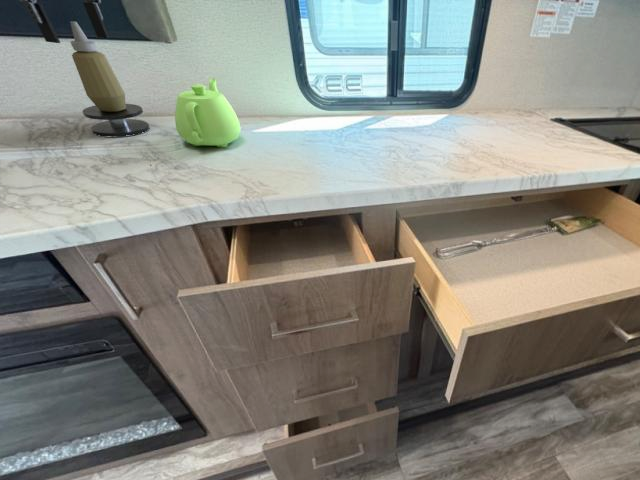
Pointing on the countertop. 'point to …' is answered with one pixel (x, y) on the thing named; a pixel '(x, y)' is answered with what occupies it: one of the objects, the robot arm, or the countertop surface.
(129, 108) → the stand
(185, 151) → the countertop surface
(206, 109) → the teapot
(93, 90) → the squeeze bottle
